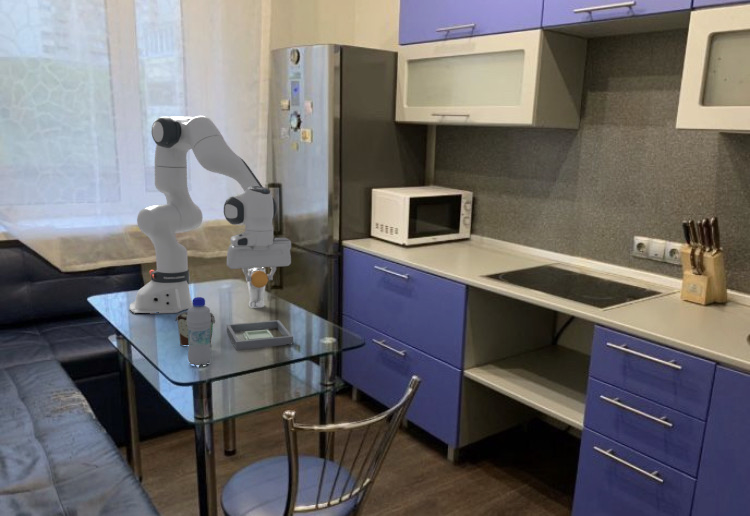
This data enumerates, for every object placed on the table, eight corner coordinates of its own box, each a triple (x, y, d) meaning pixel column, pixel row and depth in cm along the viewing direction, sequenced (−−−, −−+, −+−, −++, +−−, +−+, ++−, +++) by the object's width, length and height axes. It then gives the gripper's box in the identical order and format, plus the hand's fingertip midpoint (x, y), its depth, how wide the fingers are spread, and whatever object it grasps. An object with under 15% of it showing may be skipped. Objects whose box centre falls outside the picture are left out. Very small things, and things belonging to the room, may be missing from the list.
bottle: (202, 358, 173) (201, 293, 169) (216, 364, 169) (215, 297, 165) (182, 364, 168) (181, 297, 164) (196, 371, 164) (195, 302, 160)
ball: (252, 290, 186) (252, 273, 185) (249, 286, 191) (248, 269, 190) (269, 289, 188) (269, 272, 187) (265, 285, 193) (265, 268, 192)
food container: (221, 341, 188) (221, 311, 186) (214, 348, 182) (214, 317, 180) (184, 338, 189) (183, 309, 187) (176, 345, 183) (175, 314, 181)
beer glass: (261, 309, 224) (261, 271, 221) (244, 307, 225) (244, 269, 222) (268, 304, 230) (268, 267, 227) (251, 303, 232) (251, 266, 229)
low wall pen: (236, 349, 181) (236, 342, 180) (226, 331, 197) (226, 324, 197) (293, 344, 188) (293, 336, 188) (279, 327, 204) (279, 320, 204)
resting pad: (247, 343, 187) (247, 340, 187) (242, 334, 195) (242, 331, 195) (275, 340, 190) (275, 337, 190) (269, 332, 198) (269, 328, 198)
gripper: (288, 235, 193) (288, 276, 196) (225, 237, 185) (225, 280, 188) (293, 238, 187) (293, 281, 190) (228, 240, 179) (229, 284, 182)
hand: (259, 280), depth 189 cm, fingers closed on ball, 5 cm apart
